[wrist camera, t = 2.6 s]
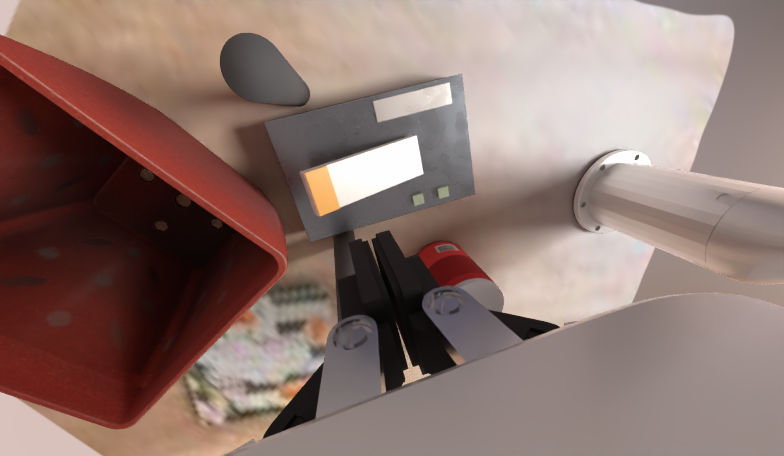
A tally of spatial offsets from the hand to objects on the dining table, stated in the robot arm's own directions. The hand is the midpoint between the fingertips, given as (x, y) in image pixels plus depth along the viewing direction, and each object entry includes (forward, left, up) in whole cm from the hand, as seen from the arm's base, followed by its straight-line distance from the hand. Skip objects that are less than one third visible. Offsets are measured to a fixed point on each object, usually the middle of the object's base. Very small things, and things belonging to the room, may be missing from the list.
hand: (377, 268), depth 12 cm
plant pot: (+18, -1, -25) cm, 31 cm away
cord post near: (+3, -8, -25) cm, 26 cm away
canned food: (-9, +17, -25) cm, 32 cm away
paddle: (-2, 0, -18) cm, 18 cm away
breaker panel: (-4, 0, -25) cm, 25 cm away
